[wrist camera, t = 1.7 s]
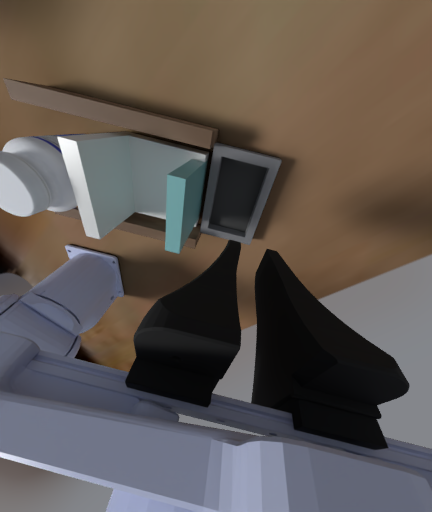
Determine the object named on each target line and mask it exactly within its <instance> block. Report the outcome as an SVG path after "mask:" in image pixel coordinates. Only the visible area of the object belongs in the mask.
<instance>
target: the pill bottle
mask: <svg viewBox="0 0 432 512" xmlns="http://www.w3.org/2000/svg"><path fill="white" fill-rule="evenodd" d="M70 135H83V134H68V135H50V136H32V137H20V138H15V139H12V140H10V141H9V142H7V143H6V145H5V146H4V148H3V151H0V208H2V209H3V210H5V211H7V212H9V213H11V214H14V215H17V216H23V217H25V216H31V215H33V214H36V213H38V212H41V211H43V210H46V209H47V210H50V211H55V212H64V211H68V210H71V209H73V208H75V207H77V202H76V199H75V195H74V192H73V189H72V185H71V182H70V179H69V175H68V172H67V168H66V165H65V162H64V158H63V155H62V151H61V148H60V145H59V141H58V138H57V136H70Z"/></svg>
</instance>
